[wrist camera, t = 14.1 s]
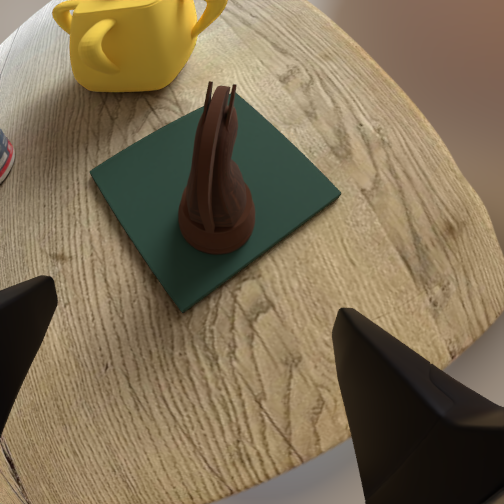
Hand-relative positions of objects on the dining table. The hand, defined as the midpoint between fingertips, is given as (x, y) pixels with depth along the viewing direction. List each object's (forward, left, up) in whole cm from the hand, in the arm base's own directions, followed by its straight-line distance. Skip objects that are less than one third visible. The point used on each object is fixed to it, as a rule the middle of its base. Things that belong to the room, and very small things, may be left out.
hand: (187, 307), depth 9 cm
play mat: (+8, -6, -9) cm, 14 cm away
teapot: (+24, -9, -9) cm, 27 cm away
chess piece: (+5, -5, -9) cm, 11 cm away
